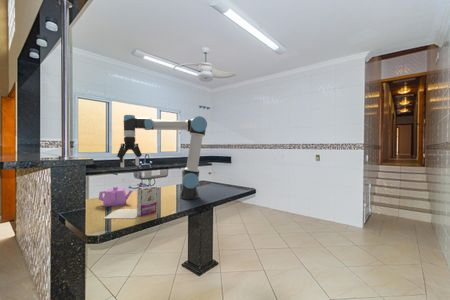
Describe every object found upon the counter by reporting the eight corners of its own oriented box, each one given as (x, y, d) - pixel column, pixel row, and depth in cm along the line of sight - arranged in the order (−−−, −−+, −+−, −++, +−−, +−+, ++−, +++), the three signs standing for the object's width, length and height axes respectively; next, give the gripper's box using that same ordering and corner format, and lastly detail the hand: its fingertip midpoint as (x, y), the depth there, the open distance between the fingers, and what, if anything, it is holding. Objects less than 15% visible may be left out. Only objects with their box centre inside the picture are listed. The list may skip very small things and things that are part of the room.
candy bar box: (152, 210, 145) (153, 185, 144) (156, 212, 142) (157, 186, 141) (136, 214, 136) (137, 187, 135) (140, 216, 133) (141, 189, 132)
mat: (145, 209, 148) (145, 209, 148) (134, 218, 130) (134, 218, 130) (117, 209, 147) (117, 209, 147) (103, 218, 129) (103, 218, 129)
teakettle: (96, 205, 158) (96, 187, 158) (118, 200, 173) (118, 184, 173) (112, 208, 150) (112, 190, 150) (133, 202, 165) (133, 186, 165)
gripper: (138, 137, 173) (139, 164, 173) (110, 136, 150) (111, 167, 151) (146, 137, 170) (146, 165, 170) (119, 136, 147) (119, 168, 148)
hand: (130, 166), depth 161 cm, fingers open, 13 cm apart
